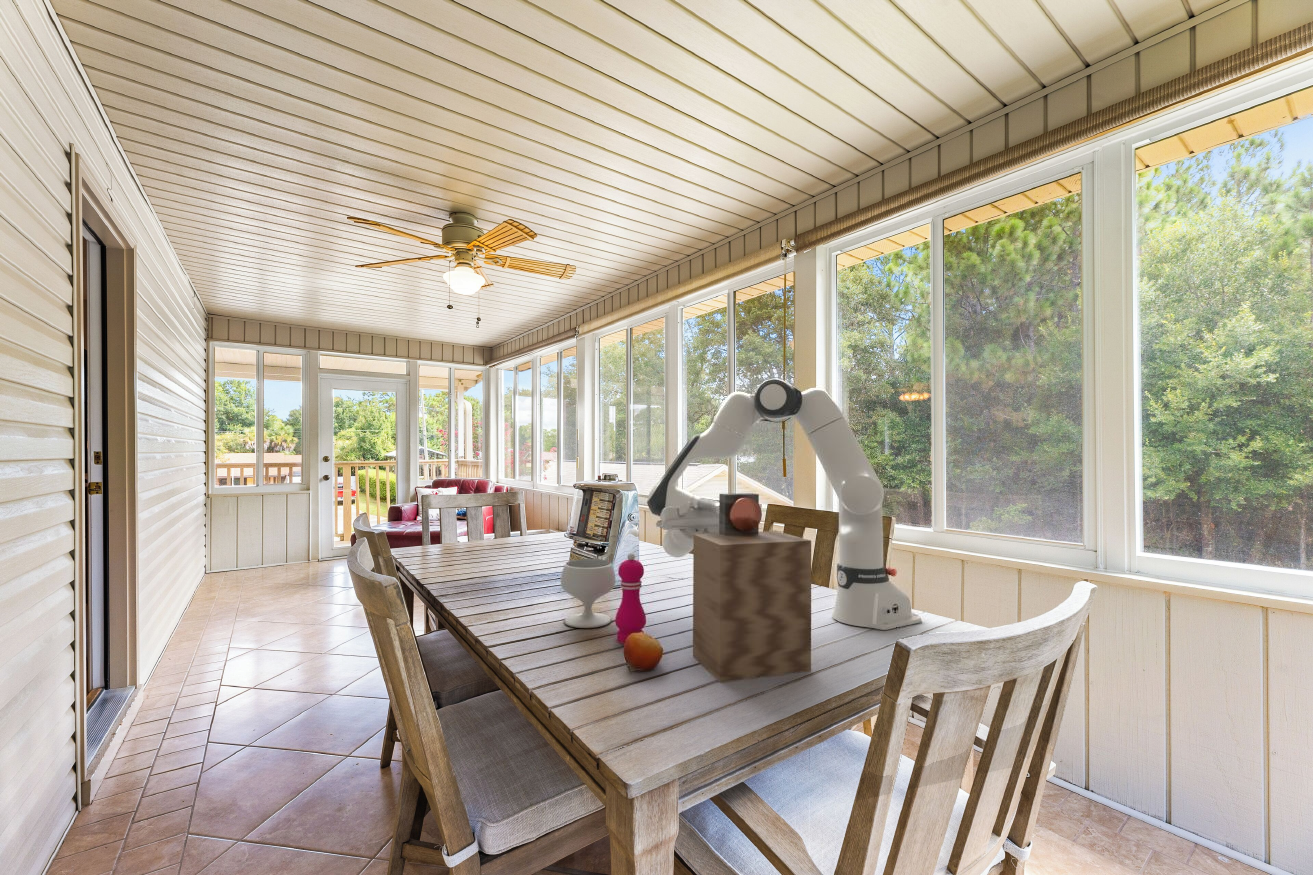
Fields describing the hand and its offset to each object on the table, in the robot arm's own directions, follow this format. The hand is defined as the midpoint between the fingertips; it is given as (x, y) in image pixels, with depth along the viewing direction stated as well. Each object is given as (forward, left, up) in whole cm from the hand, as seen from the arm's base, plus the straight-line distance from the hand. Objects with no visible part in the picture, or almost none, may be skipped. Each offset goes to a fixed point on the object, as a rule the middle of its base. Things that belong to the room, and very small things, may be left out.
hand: (709, 504), depth 137 cm
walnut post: (0, +22, -31) cm, 38 cm away
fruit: (+22, +18, -31) cm, 42 cm away
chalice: (+27, -15, -31) cm, 44 cm away
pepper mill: (+20, +1, -31) cm, 37 cm away
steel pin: (0, +8, -4) cm, 9 cm away
